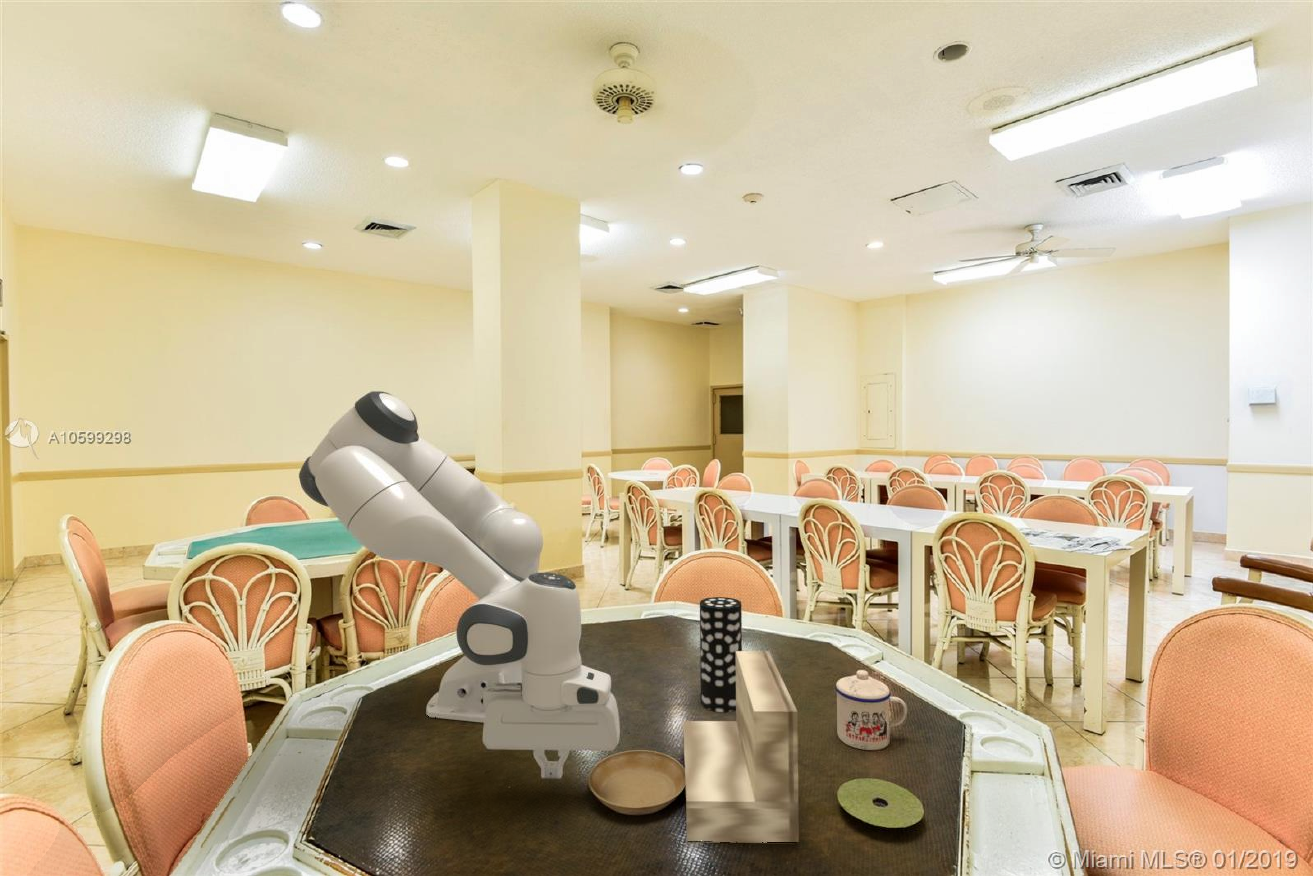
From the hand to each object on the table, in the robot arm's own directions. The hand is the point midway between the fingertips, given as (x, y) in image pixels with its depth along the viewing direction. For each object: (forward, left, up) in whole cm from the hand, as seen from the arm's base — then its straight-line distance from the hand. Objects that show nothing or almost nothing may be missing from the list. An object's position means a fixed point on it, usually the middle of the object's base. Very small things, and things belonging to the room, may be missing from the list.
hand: (552, 776), depth 88 cm
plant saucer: (+13, 0, -3) cm, 13 cm away
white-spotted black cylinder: (+28, +30, -3) cm, 41 cm away
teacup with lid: (+53, +16, -3) cm, 55 cm away
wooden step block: (+27, 0, -2) cm, 27 cm away
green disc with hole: (+47, -5, -3) cm, 47 cm away
